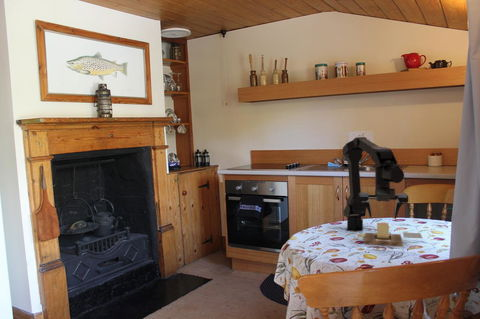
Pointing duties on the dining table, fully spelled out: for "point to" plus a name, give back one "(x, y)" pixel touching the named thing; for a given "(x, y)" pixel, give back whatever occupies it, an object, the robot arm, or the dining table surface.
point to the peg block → (383, 231)
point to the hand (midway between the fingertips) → (383, 218)
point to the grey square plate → (412, 235)
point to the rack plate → (372, 240)
